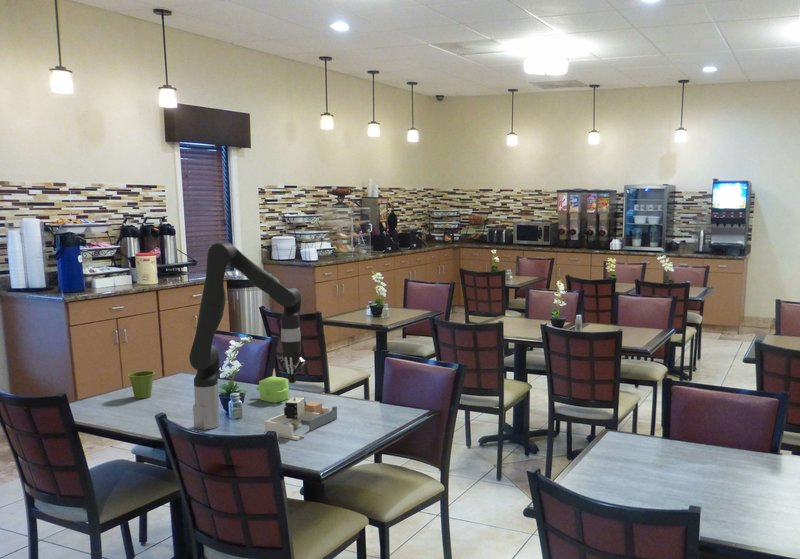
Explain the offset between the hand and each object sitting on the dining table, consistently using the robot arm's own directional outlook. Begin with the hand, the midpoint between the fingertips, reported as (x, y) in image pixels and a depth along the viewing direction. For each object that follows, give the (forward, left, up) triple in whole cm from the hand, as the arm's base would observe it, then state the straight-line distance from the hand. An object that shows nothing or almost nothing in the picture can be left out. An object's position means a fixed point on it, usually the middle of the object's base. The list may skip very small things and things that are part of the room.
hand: (292, 382), depth 268 cm
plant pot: (+3, +94, -19) cm, 96 cm away
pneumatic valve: (0, 0, -18) cm, 18 cm away
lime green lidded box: (+29, +37, -19) cm, 50 cm away
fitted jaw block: (+13, 0, -18) cm, 22 cm away
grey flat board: (+8, -8, -18) cm, 21 cm away
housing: (+4, -1, -19) cm, 19 cm away
